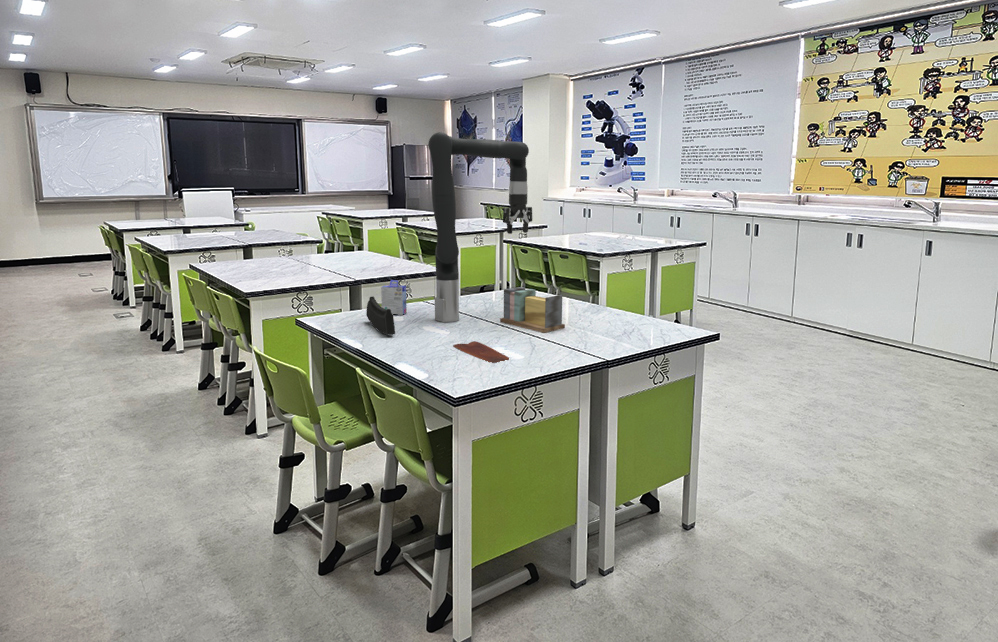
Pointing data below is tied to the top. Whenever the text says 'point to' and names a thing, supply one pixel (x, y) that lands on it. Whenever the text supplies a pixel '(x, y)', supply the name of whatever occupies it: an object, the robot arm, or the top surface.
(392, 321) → the magazine
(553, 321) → the book shelf
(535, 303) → the yellow block
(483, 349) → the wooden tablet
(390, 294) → the ink cartridge box
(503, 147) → the robot arm
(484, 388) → the top surface
